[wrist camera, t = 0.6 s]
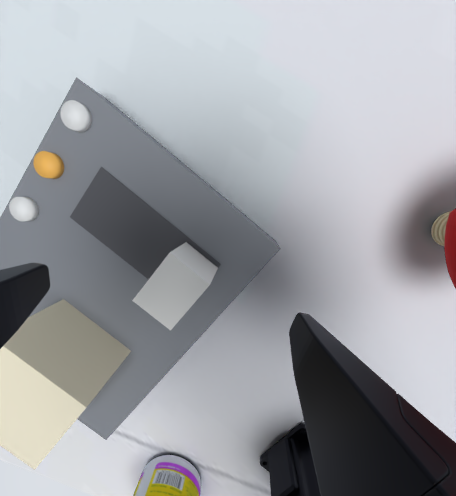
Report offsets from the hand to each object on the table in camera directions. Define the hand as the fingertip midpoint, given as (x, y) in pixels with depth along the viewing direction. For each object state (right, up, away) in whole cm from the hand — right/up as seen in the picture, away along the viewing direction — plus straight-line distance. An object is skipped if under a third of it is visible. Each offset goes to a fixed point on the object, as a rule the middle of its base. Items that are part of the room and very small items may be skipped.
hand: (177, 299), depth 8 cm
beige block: (-11, -7, +11) cm, 18 cm away
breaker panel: (-9, -1, +13) cm, 16 cm away
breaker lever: (-1, 0, +9) cm, 9 cm away
